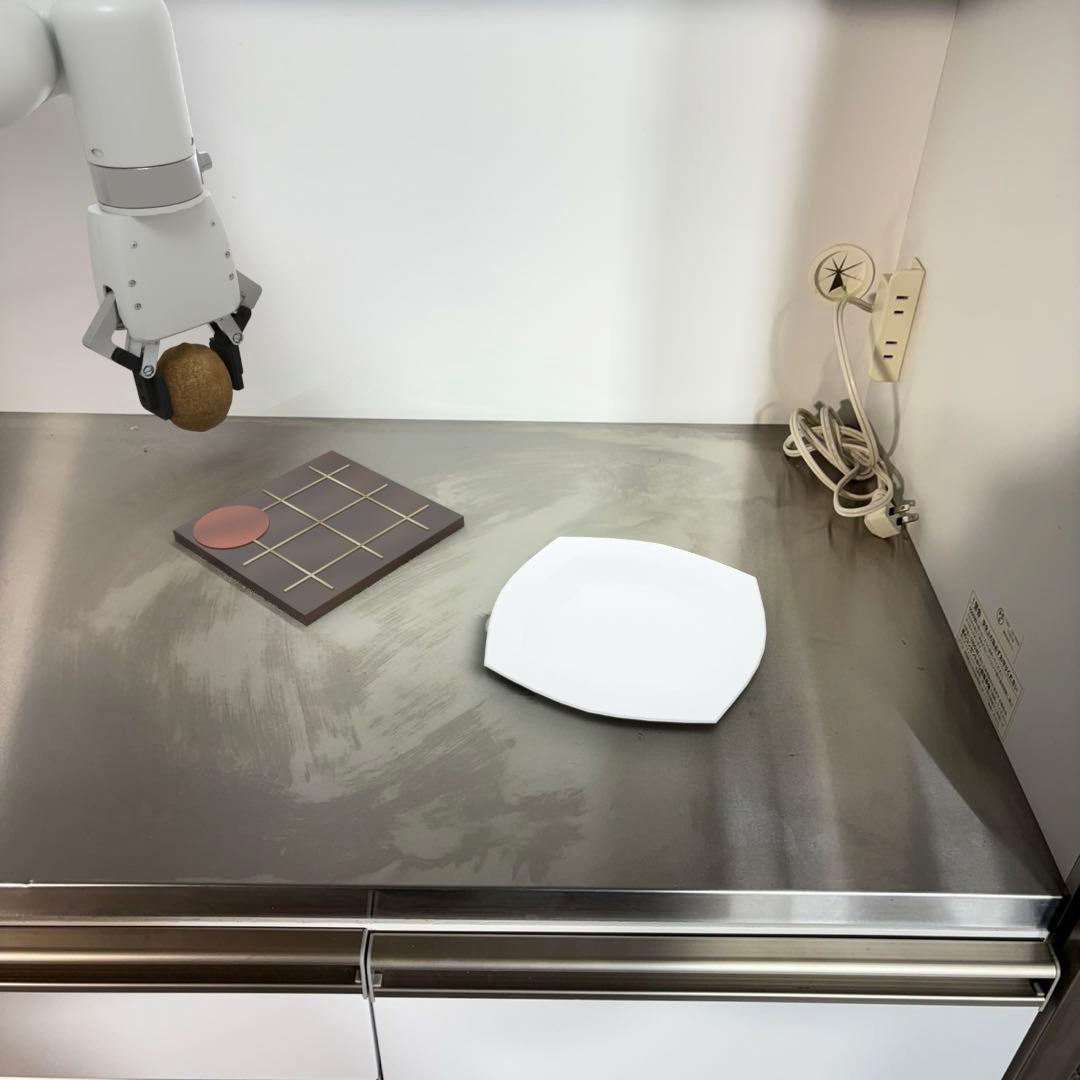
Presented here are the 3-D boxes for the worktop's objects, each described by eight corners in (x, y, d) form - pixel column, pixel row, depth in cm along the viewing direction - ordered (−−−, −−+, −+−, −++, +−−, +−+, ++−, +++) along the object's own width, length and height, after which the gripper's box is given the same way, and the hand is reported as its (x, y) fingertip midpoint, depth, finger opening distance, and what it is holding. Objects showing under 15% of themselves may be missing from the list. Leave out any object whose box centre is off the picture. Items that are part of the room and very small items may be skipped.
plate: (543, 535, 95) (544, 519, 94) (781, 584, 89) (784, 567, 88) (449, 692, 78) (448, 674, 77) (736, 767, 72) (740, 749, 70)
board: (174, 539, 95) (171, 528, 94) (333, 459, 107) (331, 448, 106) (306, 626, 84) (304, 614, 83) (464, 525, 97) (464, 514, 96)
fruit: (205, 405, 87) (187, 321, 82) (255, 424, 84) (239, 338, 80) (149, 434, 83) (126, 347, 78) (200, 455, 80) (180, 366, 75)
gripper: (218, 149, 79) (254, 354, 89) (7, 196, 68) (76, 422, 78) (275, 166, 75) (305, 378, 85) (61, 219, 64) (127, 454, 75)
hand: (195, 397), depth 82 cm, fingers closed on fruit, 6 cm apart
